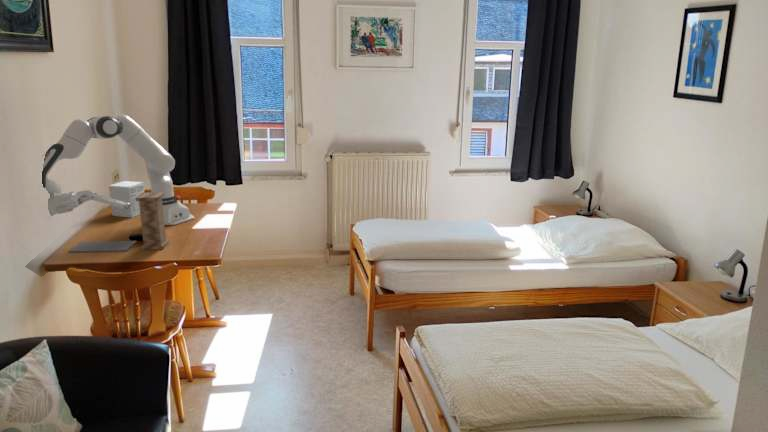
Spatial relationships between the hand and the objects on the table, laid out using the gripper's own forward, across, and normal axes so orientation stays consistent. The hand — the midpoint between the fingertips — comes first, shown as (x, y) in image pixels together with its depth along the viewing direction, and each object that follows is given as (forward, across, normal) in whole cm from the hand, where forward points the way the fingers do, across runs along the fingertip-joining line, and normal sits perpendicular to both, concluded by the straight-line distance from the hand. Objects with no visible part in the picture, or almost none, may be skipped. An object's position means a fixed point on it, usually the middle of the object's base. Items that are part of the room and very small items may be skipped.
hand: (94, 196), depth 283 cm
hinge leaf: (+4, 0, +4) cm, 6 cm away
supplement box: (-12, +59, +23) cm, 65 cm away
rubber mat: (-4, 0, +25) cm, 25 cm away
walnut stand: (+19, 0, +30) cm, 35 cm away
